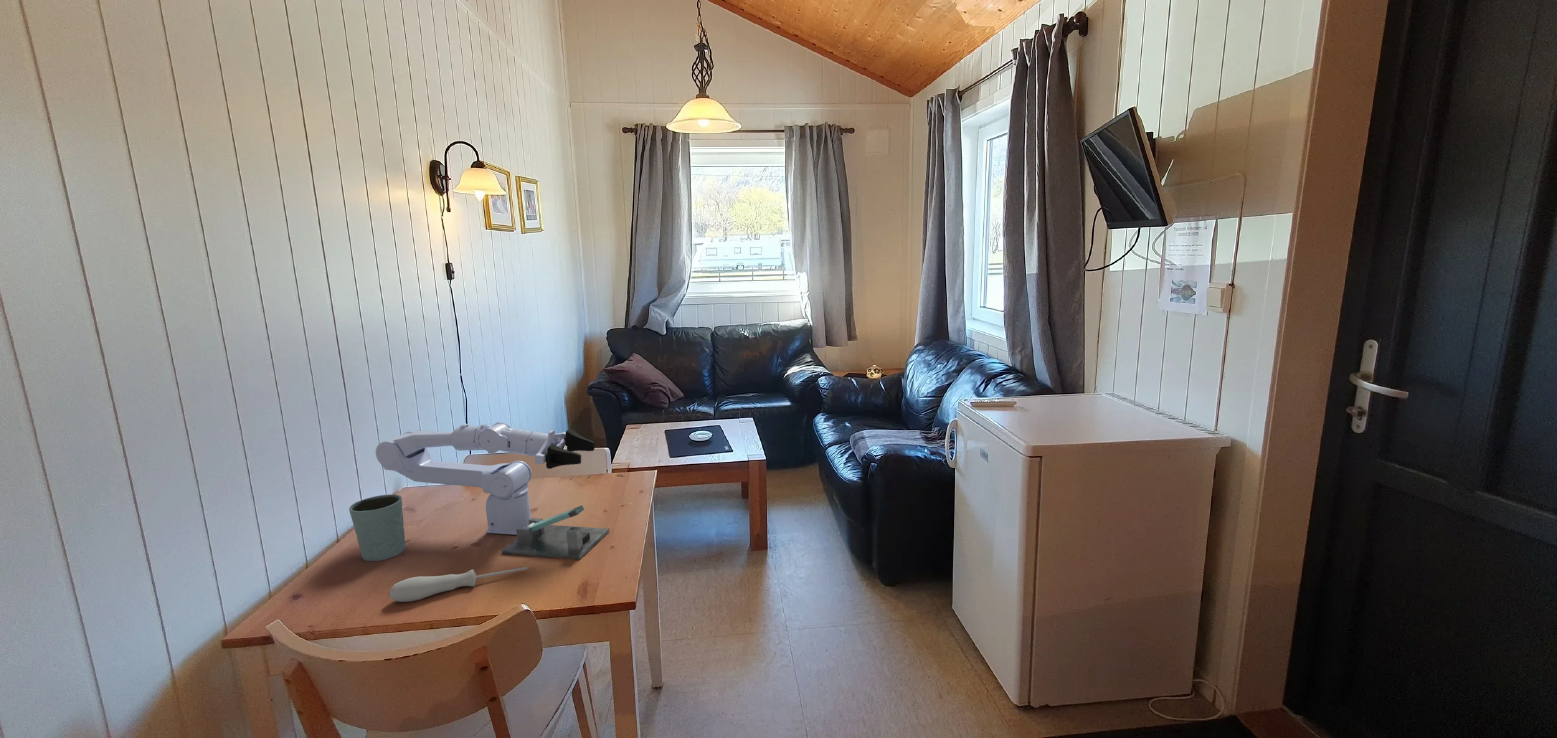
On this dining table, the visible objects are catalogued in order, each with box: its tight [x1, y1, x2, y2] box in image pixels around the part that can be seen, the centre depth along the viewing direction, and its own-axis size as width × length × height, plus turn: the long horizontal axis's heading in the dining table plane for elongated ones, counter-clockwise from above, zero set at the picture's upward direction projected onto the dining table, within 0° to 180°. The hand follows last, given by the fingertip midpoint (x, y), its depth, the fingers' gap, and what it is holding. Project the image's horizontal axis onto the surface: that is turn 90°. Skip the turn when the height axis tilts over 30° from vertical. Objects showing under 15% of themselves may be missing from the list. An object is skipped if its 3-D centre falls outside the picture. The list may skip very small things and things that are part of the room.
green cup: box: [348, 494, 407, 562], centre depth 144 cm, size 10×10×12 cm
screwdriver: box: [389, 566, 529, 603], centre depth 129 cm, size 5×25×4 cm, turn 116°
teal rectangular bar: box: [527, 505, 585, 532], centre depth 146 cm, size 15×3×2 cm, turn 78°
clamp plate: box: [500, 517, 610, 560], centre depth 147 cm, size 19×14×6 cm
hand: (587, 452), depth 150 cm, fingers open, 7 cm apart
